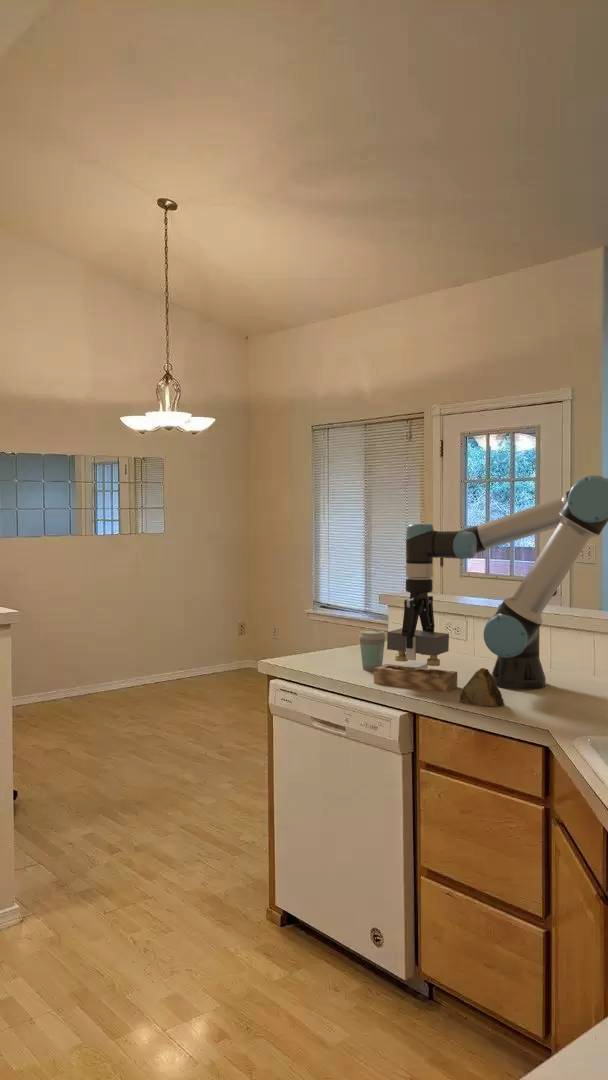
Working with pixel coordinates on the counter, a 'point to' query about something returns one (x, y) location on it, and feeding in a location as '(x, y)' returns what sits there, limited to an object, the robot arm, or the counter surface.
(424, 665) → the small white cube
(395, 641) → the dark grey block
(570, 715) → the counter surface
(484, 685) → the rock
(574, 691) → the counter surface
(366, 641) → the coffee cup
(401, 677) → the brown long open box
